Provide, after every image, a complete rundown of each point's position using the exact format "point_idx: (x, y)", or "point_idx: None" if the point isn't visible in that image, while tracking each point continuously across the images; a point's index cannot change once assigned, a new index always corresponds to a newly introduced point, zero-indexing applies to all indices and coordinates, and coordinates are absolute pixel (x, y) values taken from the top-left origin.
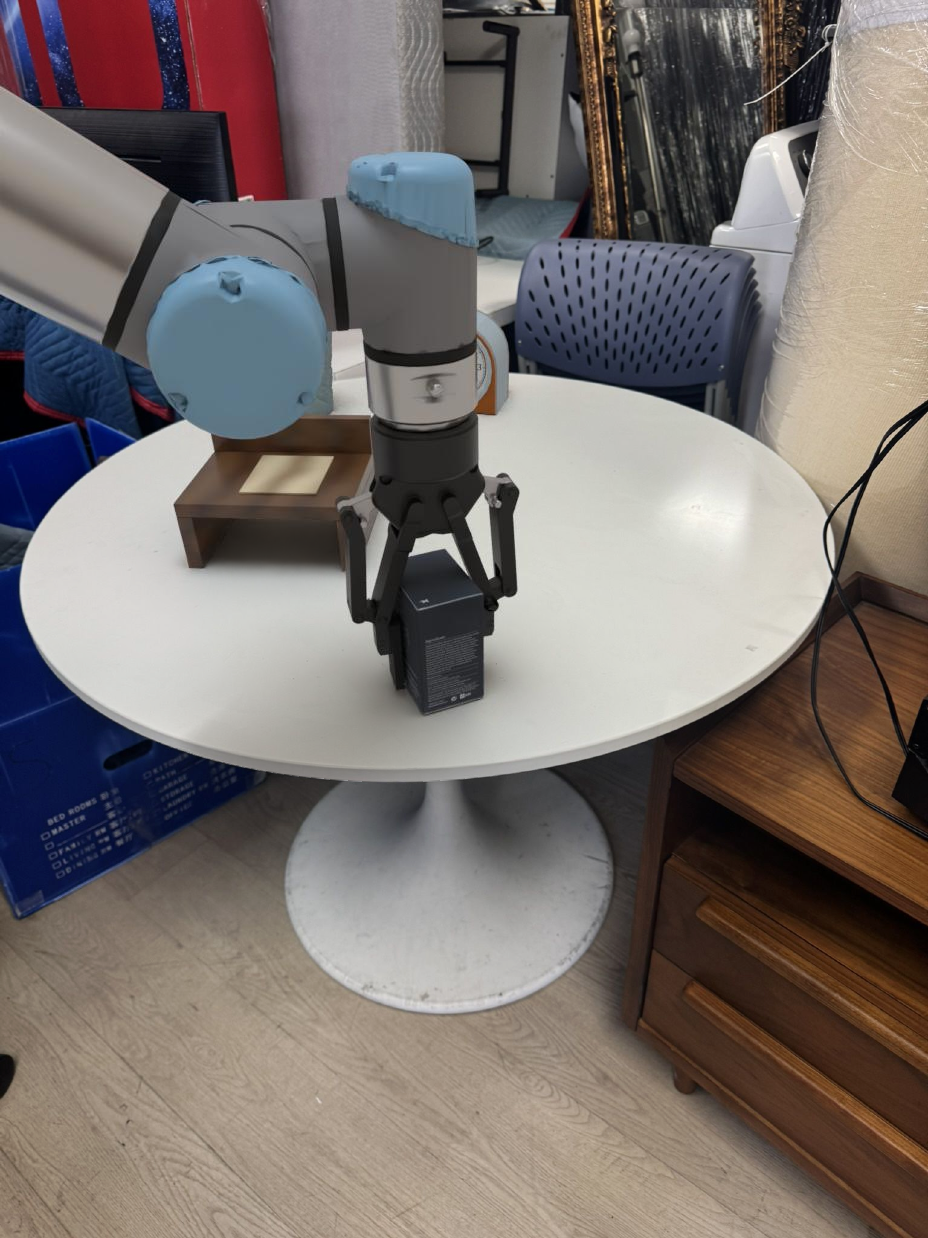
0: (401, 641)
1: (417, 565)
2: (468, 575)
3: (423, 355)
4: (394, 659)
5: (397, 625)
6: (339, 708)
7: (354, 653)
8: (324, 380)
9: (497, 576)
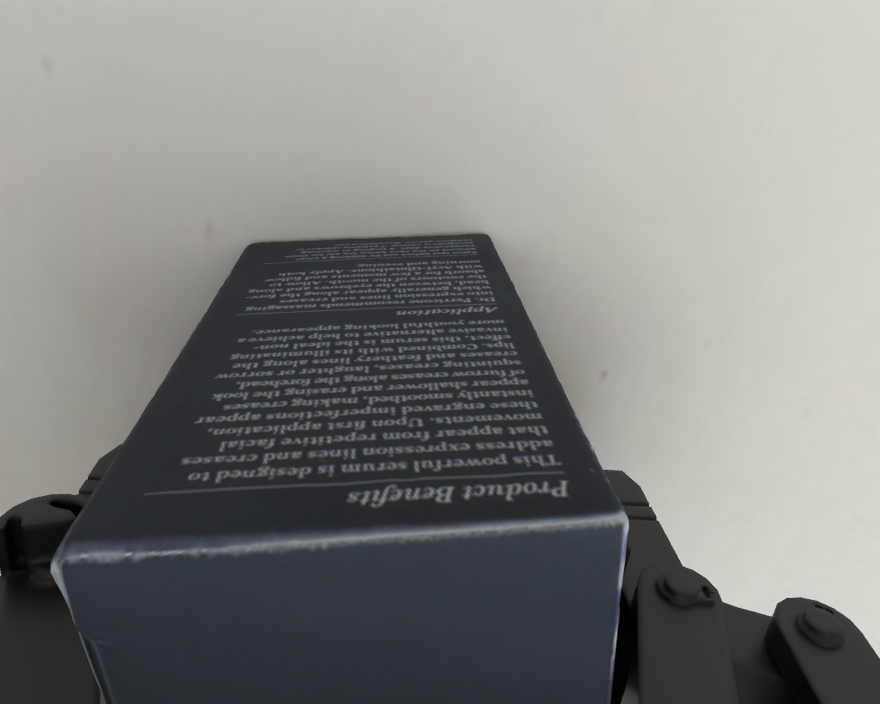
0: None
1: (318, 686)
2: (635, 674)
3: None
4: None
5: None
6: (19, 402)
7: (98, 111)
8: None
9: (785, 685)
